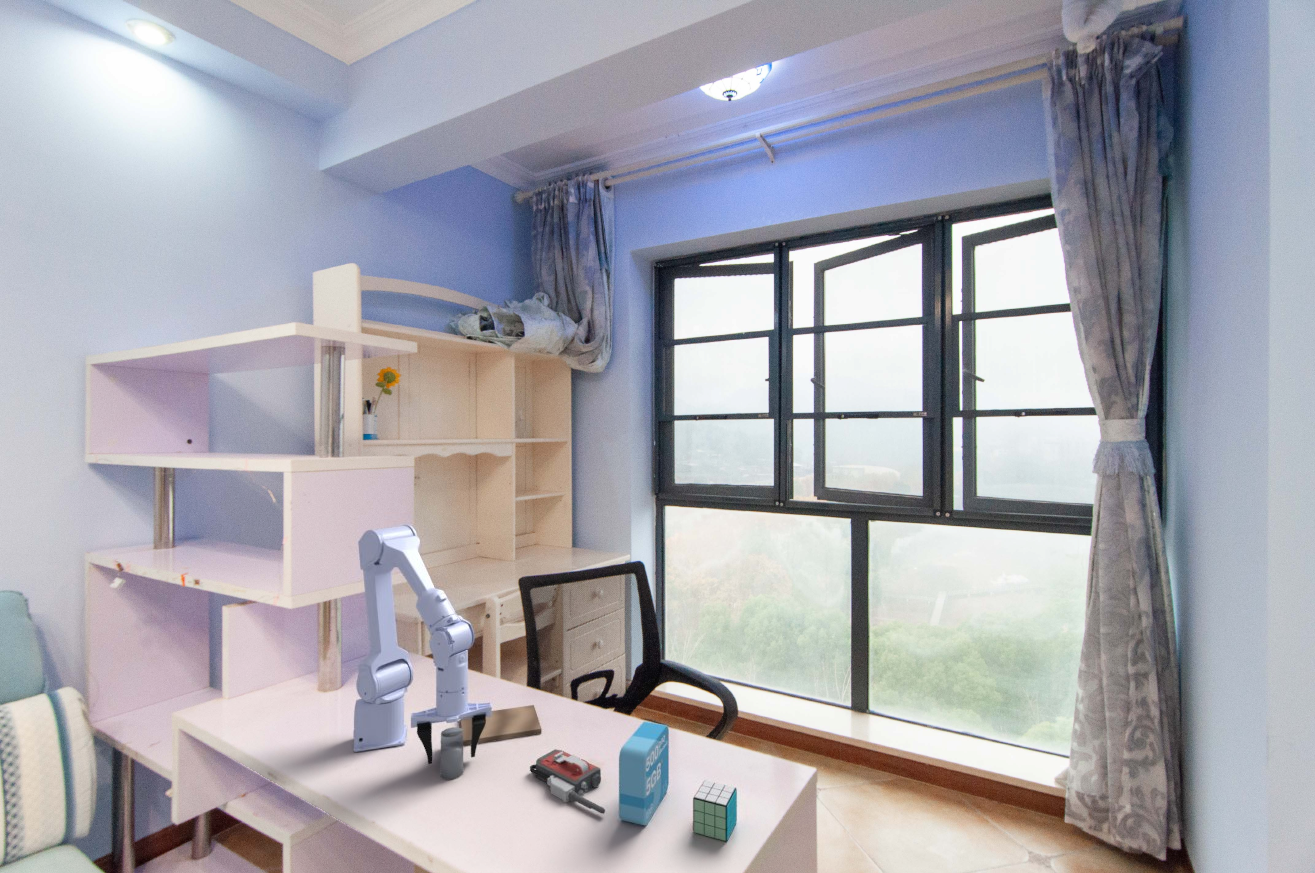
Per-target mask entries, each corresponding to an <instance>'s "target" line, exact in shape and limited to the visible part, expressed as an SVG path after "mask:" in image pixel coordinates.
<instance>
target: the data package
mask: <svg viewBox="0 0 1315 873" xmlns="http://www.w3.org/2000/svg"><path fill="white" fill-rule="evenodd" d="M669 730H670V729H669V727H668V725H666V724H661V723H660V724H659V723H655V722H649V721H642V723H641V724H640V725H639V726H638V727H637V728H636V729H635V731H634V732H633V734H631V735H630V737H629V738H628V739H627V741H625V743H624V744H623V745H622V746H621V748H620V751H619V755H618V818H619V819H620V820H621V821H624V822H629V823H633V824H637V825H640V826H641V825H642V826H647V825H648V823H649V822H650V820H651V819H652V817H653V816H654V813H655V812H656V811H657V809H658V807H659V806H660V804H661V802H662V800H663V799H664V798H665V797H666V794H667V792H668V790H669V789H668V788H669V784H670V783H669V778H670V777H669V773H670V772H669V770H670V768H669V766H670V764H669V762H670V761H669V760H670V758H669V754H670V753H669V752H670V749H669V748H670V745H669V744H670V743H669V741H670V740H669V739H670V738H669V736H670V734H669V732H670V731H669Z"/></svg>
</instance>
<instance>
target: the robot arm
mask: <svg viewBox="0 0 1315 873" xmlns="http://www.w3.org/2000/svg"><path fill="white" fill-rule="evenodd" d="M357 543H358V554H359V566H360V567H359V568H360V570H362V572H363V573H362V574H363V584H364V585H363V586H364V597H365V606H366V620H367V628H368V630H367V632H368V641H369V642H368V643H369V651H368V653H367V654H366V655H365V656H364V657H363V659H361V660H360V662H359V663H358V665H357V671H358V672H357V678H356V684H355V685H356V686H355V687H356V691H357V695H358V696H359V699H356V700H355V705H354V710H353V711H354V712H353V714H354V715H353V733H352V734H353V750H352V751H353V752H355V753H357V752H364V751H371V750H376V749H382V748H388V747H395V746H402V745H405V744H406V741H407V740H406V738H407V731H408V725H407V724H405V694H406V693H408V688H409V687H410V686H411V684H412V683H413V680H414V676H415V675H414V667H413V665H412V663H411V660H410V653H409V652H408V651H407V650H406V649H404V648H402V647H400V646H399V645H398V634H397V622H396V612H395V610H396V609H395V600H394V590H393V588H394V587H393V578H392V571H393V570H394V568H397V569H398V570H399V572H400V573H401V574H402V576H403V577H404V579H405V580H406V582H407V583H408V585H409V586H410V588H411V589H412V591H413V592H414V594H415V595H416V597H417V601H416V603H415V608H416V610H417V612H418V613H419V615H420V617H421V619H422V621H423V624H425V625H424V626H426V628H427V630H428V632H429V634H430V635H431V638H430V640H428V644H429V650H430V652H431V653H432V656H433V657H432V658H433V664H434V666H435V667H436V669H435V670H436V671H435V673H436V676H435V679H436V680H435V684H436V686H435V692H436V693H435V696H436V697H435V701H436V702H435V707H432V708H429V709H425V710H422V711H421V710H420V711H418V712H413V713H411V714H410V728H411V729H413V728H416V734H417V736H418V738H419V740H420V742H421V744H422V746H423V748H424V751H425V753H426V757H427V765H432V764H433V757H434V756H433V752H434V751H433V743H432V740H433V739H432V734H433V733H432V728H433V727H432V725H433V724H437V723H443V722H445V723H447V724H451V723H456V722H458V721H459V720H461V719H466V718H472V738H471V745H470V758H476V751H477V747H478V744H479V743H478V740H479V738H480V735H481V733H482V731H483V729H484V727H485V724H486V717H490V716H492V711H493V710H492V707H493V706H492V702H476V703H475V702H469V701H468V699H469V698H468V697H469V696H468V695H469V692H468V690H469V688H468V686H469V677H468V676H469V670H468V669H469V660H468V659H469V654H468V653H469V649H471V648H472V647H473V645H474V644H475V638H476V637H475V636H476V635H475V631H474V628H473V625H472V624H471V622H470V621H468V620H467V619H464V618H463V617H462V615H458V614H457V612H456V610H455V609H454V607H453V605H452V604H451V602H450V599H449V598H448V597H447V595H446V593H445V591H444V590H443V589H439V588H435V585H434V584H433V581H432V578H431V577H430V574H429V572H428V570H427V568H426V565H425V564H424V561H423V559H422V557H421V555H420V553H419V550H420V546H421V540H420V538H419V536H418V534H417V531H416V529H415V528H414V527H413V526H412V525H410V524H403V525H398V526H393V527H384V528H378V529H368V530H366V531H365V532H364V533H363V534H362V535H361V537H360V538H359V540H358V542H357Z"/></svg>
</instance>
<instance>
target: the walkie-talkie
mask: <svg viewBox="0 0 1315 873" xmlns="http://www.w3.org/2000/svg"><path fill="white" fill-rule="evenodd" d="M529 771H530V773H532V774H534V775H535V778H537V779H539V780H541V781H543V782H545V783H547V784H546V785H548V786H549V788H550V794H551V795H552V796H555V797H556V798H558V799H560V800H561V801H562V802H564V803H568V802H570V801H572V802H576V803H578V804H581V805H582V806H583V807H585V808H588V809H590V810H591V809H592V810H594V811H596V812H597V813H599V814H603V815H604V814H605V813H606V809H605V808H604V807H602V806H600V805H598V804H596V803H595V802H593V801H590V800H589V799H587V798H585V797H583V796H584V794H585V793H586V792H587V791H589V790H591V789H592V788H598V787H599V786H600V784H601V781H602V776H601V774H602V773H601V768H600V767H598V766H596V765H594V764H592V763H590V762H588V761H587V760H585V759H582V758H580V757H578V756H577V755H574V754H570V753H568V752H566V751H564V750H562V749H561V750H560V749H553V750H551V751H550V752H547V753H545V754H544V755H541V756H540V757H539V758H537V759H536V760H535V764H532V765H530V766H529Z"/></svg>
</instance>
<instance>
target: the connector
mask: <svg viewBox="0 0 1315 873" xmlns="http://www.w3.org/2000/svg"><path fill="white" fill-rule="evenodd" d="M463 774H464V746H463V730H462V729H461V727H459V726H458V727H457V726H455V727H454V726H453V727H449V728H446V729H444V730H442V731H441V733H440V778H441V779H442V780H445V781H452V780H456V779H458V778H460V777H461V776H463Z"/></svg>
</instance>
